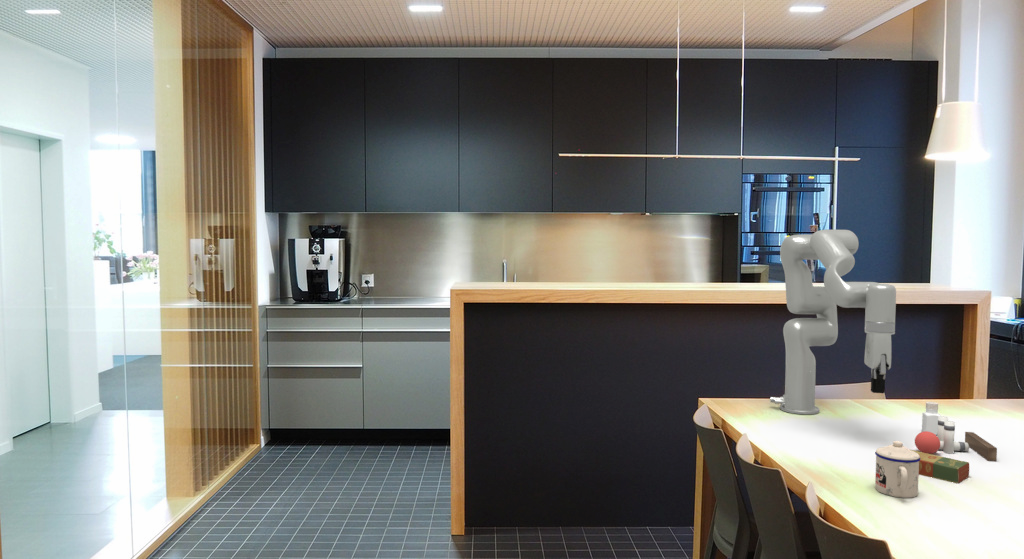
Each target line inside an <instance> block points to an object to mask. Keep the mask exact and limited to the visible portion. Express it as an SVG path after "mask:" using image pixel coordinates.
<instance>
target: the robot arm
mask: <svg viewBox="0 0 1024 559" xmlns="http://www.w3.org/2000/svg"><path fill="white" fill-rule="evenodd" d="M858 249H859V238H858V236H857V235H856V233H854V232H853V231H852V230H849V229H821V230H817V231H815V232H814V233H812V234H801V233H800V234H792V235H789V236H787V237H785V238H784V239H783V240H782V243H781V245H780V249H779V255H780V261H781V265H782V267H783V272H784V277H785V278H784V279H785V281H784V283H785V298H786V299H785V300H786V307H787V310H788V311H789V312H790V313H792V314H795V315H816V317H814V318H813V317H800V318H799V317H796V318H792V319H789V320H788V321H786V322H785V323H784V325H783V328H782V333H783V339H784V345H785V346H784V347H785V375H784V376H785V377H784V379H785V380H784V394H782V396H779V397H777V396H770V398H769V402H770V403H773V404H780V405H779V409H780V410H781V411H782V412H787V413H790V414H796V415H798V414H799V415H816V414H818V413H820V408H819V407H818V406H817V405H816V375H817V374H816V372H817V369H816V366H817V364H816V363H817V361H816V357H815V355H814V352H812V350H811V348H810V347H828V346H831V345H834V344H835V343H836V342H837V339H838V335H839V327H838V326H839V324H838V308H837V307H838V306H839V307H841V308H846V309H849V308H854V309H855V308H856V309H857V308H862V309H865V312H864V313H865V315H864V333H865V334H866V337H865V345H864V346H865V347H864V348H865V349H864V357H863V358H864V360H863V362H864V365H866V366H867V367H868V368H870V369H871V370H870V372H871V373H870V374H871V375H870V376H871V378H870V392H871V393H873V394H885V390H886V388H885V387H886V372H887V370H888V371H889V370H890V369H891V368H892V335H895V334H896V312H897V311H896V310H897V309H896V308H897V307H896V306H897V288H896V286H894V285H893V284H890V283H889V284H888V283H887V284H886V283H880V282H876V281H845V280H843V278H841V277H843V276H845V275H846V274H848V273H850V272H851V270H852V269H853V268H854V266H855V263H856V260H855V259H856V258H855V257H854V255H855V254H856V252H857V251H858ZM804 260H811V261H815V260H816V261H817V260H818V261H820V262H821V265H822V266H823V267H824V268H825V271H824V275H823V285H824V286H814V285H813V276H812V275H813V274H812V272H811V269H810V268H809V266H808V265H807V263H806V262H805V261H804Z"/></svg>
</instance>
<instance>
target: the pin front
mask: <svg viewBox="0 0 1024 559" xmlns="http://www.w3.org/2000/svg"><path fill="white" fill-rule="evenodd" d="M943 447H944V441H940V448H939V450H940V451H943ZM939 450H938V451H939ZM969 450H970V447H969V445H968V443H967V442H965V441H954V452H969Z"/></svg>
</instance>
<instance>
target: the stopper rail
mask: <svg viewBox="0 0 1024 559" xmlns="http://www.w3.org/2000/svg"><path fill="white" fill-rule="evenodd" d="M964 442H967V443H968V445H969V449H971V450H973V451H974V452H975V453H977V454H978V455H979V456H981V457H982V458H983V459H985V460H986V461H989V462H997V459H998V457H997V456H998V447H996V446H995V445H993V444H991V443H990V442H989V441H987V440H986V439H984V438H982V437H981V436H979V435H978V434H976V433H975V432H974V431H965V432H964Z"/></svg>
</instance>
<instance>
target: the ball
mask: <svg viewBox="0 0 1024 559" xmlns="http://www.w3.org/2000/svg"><path fill="white" fill-rule="evenodd" d="M914 445H915V447H916V449H917V451H919V452H923V453H928V454H932V455H934V454H935V453H936V452H938V451H939V448H940V440H939V438H938V437H937V436H936V435H935V434H934V433H932V432H928V431H924V432H922V431H921V432H919V433H918V434H917V435H916V436H915V438H914Z"/></svg>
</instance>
